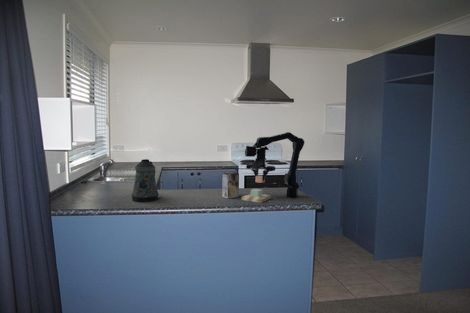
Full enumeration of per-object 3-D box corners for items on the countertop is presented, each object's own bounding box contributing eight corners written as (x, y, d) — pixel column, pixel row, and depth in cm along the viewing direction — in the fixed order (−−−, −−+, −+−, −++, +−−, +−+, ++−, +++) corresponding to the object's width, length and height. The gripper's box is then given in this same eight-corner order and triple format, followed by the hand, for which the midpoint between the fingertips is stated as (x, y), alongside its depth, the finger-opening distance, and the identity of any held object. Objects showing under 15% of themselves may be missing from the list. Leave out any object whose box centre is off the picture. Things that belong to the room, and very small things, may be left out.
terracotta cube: (264, 181, 221) (265, 175, 221) (261, 182, 217) (261, 176, 217) (258, 181, 223) (258, 175, 223) (255, 182, 220) (255, 176, 219)
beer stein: (131, 202, 204) (130, 161, 201) (132, 195, 222) (131, 158, 220) (159, 201, 208) (158, 161, 205) (157, 194, 227) (157, 157, 224)
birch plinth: (270, 198, 220) (270, 195, 219) (261, 202, 208) (261, 199, 208) (251, 195, 227) (251, 192, 227) (241, 199, 215) (241, 196, 215)
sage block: (262, 195, 218) (262, 189, 218) (258, 197, 213) (258, 191, 213) (254, 194, 221) (254, 188, 220) (250, 196, 216) (250, 190, 216)
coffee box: (233, 195, 228) (233, 171, 226) (238, 197, 223) (239, 172, 221) (222, 196, 222) (222, 172, 221) (227, 198, 217) (227, 174, 215)
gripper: (242, 156, 217) (241, 180, 218) (268, 158, 207) (267, 184, 208) (250, 155, 226) (250, 178, 228) (276, 157, 216) (275, 181, 218)
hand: (260, 180), depth 220 cm, fingers closed on terracotta cube, 4 cm apart
